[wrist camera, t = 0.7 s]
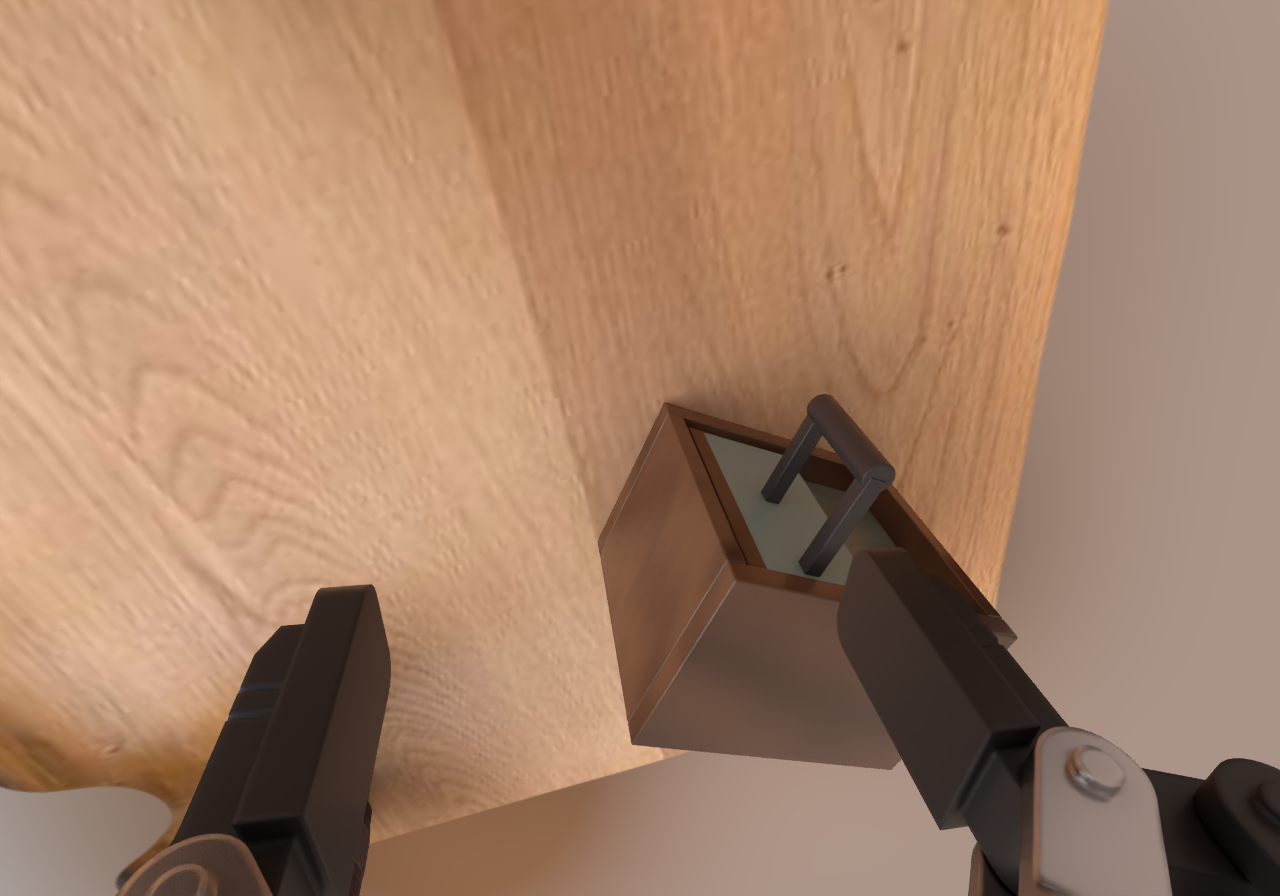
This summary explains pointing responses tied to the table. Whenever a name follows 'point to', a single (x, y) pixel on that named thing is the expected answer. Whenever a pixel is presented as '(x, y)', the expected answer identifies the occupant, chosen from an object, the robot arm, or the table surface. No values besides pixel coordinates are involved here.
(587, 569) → the table surface
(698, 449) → the sliding cabinet door
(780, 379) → the table surface
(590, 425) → the table surface
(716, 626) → the cabinet
